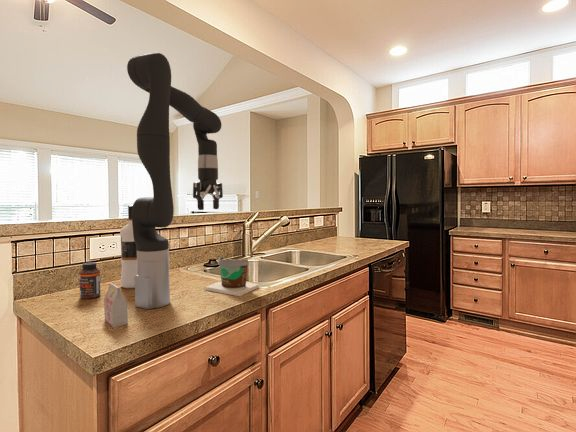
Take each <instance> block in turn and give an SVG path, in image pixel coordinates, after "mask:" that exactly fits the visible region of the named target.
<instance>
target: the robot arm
mask: <svg viewBox="0 0 576 432" xmlns="http://www.w3.org/2000/svg"><path fill="white" fill-rule="evenodd" d="M126 70H127V71H126V72H127V74H128V77H129V78H130V81H132V82H133V84H134V85H135V86H137V88H140V89H141V90H143V91H145V92H147V93H148V94H149V97H148V102H147V106H146V107H145V110H144V112H143V114H142V116H141V118H140V121H139V123H138V125H137V130H136V150H137V156H138V158H139V160H140V162H141V164H142V165H143V166H144V168H145V170H146V171H147V174H148V175H149V177H150V181H151V184H152V190H153V191H152V193H153V196H142V197H138V198H136V200H134V202H133V204H132V205H133V207H132V225H133V237H134V241H135V244H136V247H137V275H135V288H134V298H135V300H134V301H135V303H134V304H135V307H138V308H140V309H141V308H142V309H146V310H151V309H157V308H161V307H165V306H167V305H169V304H170V303H171V289H170V287H171V285H170V279H171V278H170V249H169V248H170V247H169V240H168V238H166V237H163V236H162V235H160V234H159V233H158V231H157V229H156V228H168V227H169V226H170V225H171V224H172V221H173V220H174V219H173V218H174V215H175V214H174V209H175V208H174V199H173V198H174V197H173V190H172V182H171V181H172V180H171V162H170V161H171V159H170V158H171V157H170V156H171V142H170V141H171V139H170V138H171V137H170V107H171V108H173V109H174V110H175V111H177V112H178V113H179V114H180V115H182V117H184V118H185V119H186V120H188V121H189V122H190V123H192V124H193V125H192V126H193V127H192V129H193V131H194V135H195V139H196V141H197V148H198V149H197V153H198V155H197V178H198V180H199V181H195V182H193V184H192V185H193V186H192V197H193V199H196V202H197V210H198V211H203V210H204V208H205V207H204V205H205V203H204V202H205V200H204V199H205V198H206V196H207V195H208V194H209V195H210V196H211V197H212V208H213V210H219V208H220V199H222V198H223V195H224V194H223V191H224V190H223V183H222V182H217V180H218V179H219V162H218V144H217V142H216V141H215V140H214V139H209V138H208V136H207V135H208V134H217V133H219V132H220V131H221V129H222V121H221V118H220V117H219V115H218V114H217V113H215V112H214V111H212V110H210V109H208V108H206V107H204V106H202V104H200V103H199V102H198V101H197V100H195V98H194V97H192V96H191V95H190V94H188V93H186V92H185V91H182V90H180V89H178V88H176V87H174V86H172V69H171V65H170V62H169V60H168V59H167V57H166V55H164V54H163V53H160V52H151V53H146V54H140V55H137V56H133V57H131V58H130V59H129V60H128V61H127V65H126Z"/></svg>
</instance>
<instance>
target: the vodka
mask: <svg viewBox="0 0 576 432" xmlns="http://www.w3.org/2000/svg"><path fill="white" fill-rule="evenodd" d="M132 207H133V204H131V205H128V206H127V212H128V218H127V219H128V220H127V221H128V223H127V224H126V225H124V226H123V227H122V228H121V229H120V232H119V233H120V251H121V252H120V253H121V255H120V256H121V259H120V262H121V274H120V275H121V276H120V280H119V281H120V282H119V283H120V286H121V287H122V288H123V289H135V275H137V247H136V244H135V241H134V237H133V225H132Z"/></svg>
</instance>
